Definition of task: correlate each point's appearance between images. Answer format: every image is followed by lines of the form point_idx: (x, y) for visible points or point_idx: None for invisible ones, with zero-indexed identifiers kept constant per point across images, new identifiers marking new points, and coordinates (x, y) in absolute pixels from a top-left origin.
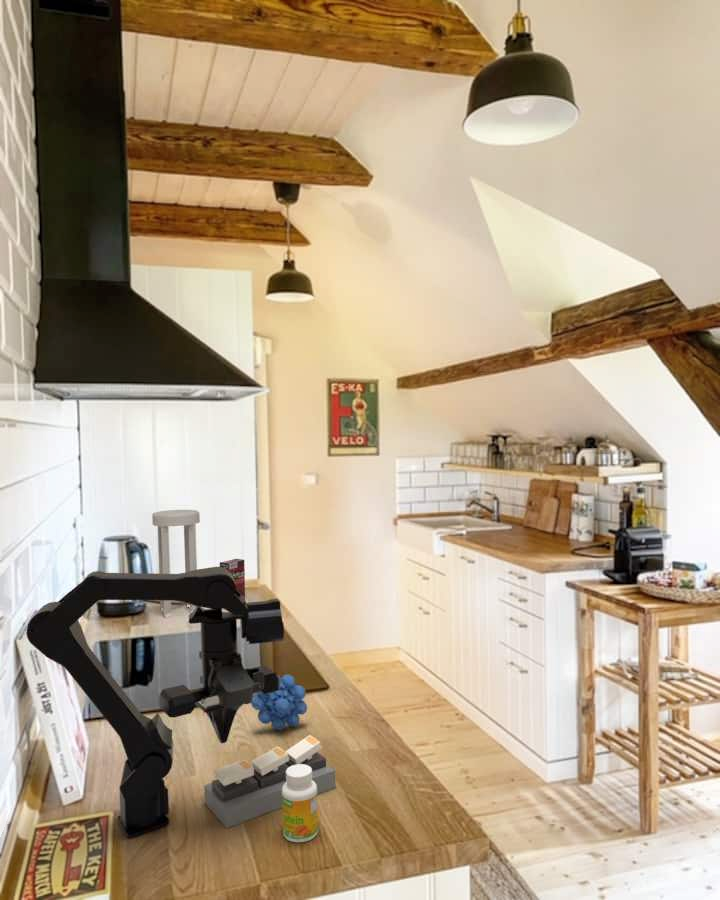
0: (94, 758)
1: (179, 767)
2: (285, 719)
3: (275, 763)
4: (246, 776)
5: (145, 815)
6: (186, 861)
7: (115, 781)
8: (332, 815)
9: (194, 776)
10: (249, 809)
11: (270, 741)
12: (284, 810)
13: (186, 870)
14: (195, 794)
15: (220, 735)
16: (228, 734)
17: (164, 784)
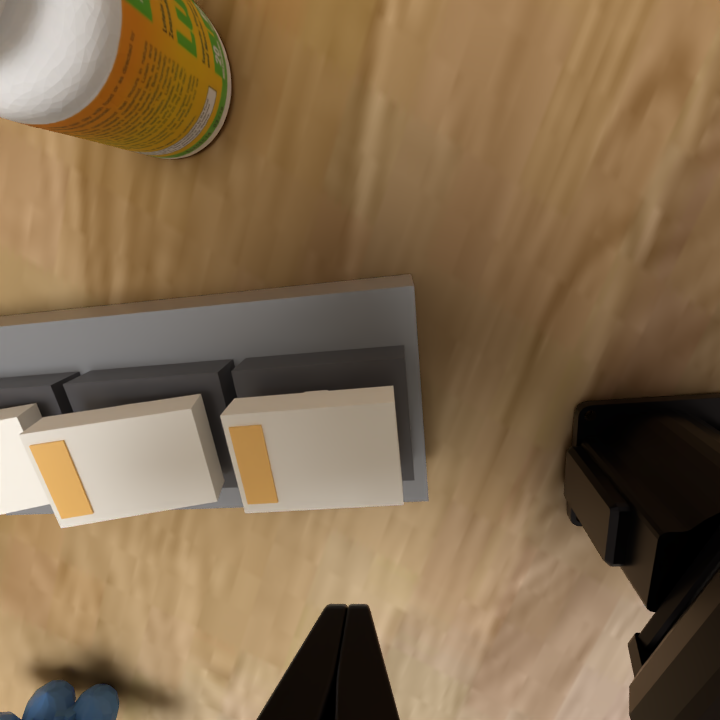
0: None
1: (423, 663)
2: (66, 713)
3: (109, 415)
4: (272, 398)
5: (705, 433)
6: (628, 132)
7: (610, 689)
8: (24, 140)
9: (400, 604)
10: (311, 289)
11: (144, 650)
12: (166, 9)
13: (657, 63)
14: (432, 519)
15: (380, 679)
16: (293, 664)
17: (653, 524)
